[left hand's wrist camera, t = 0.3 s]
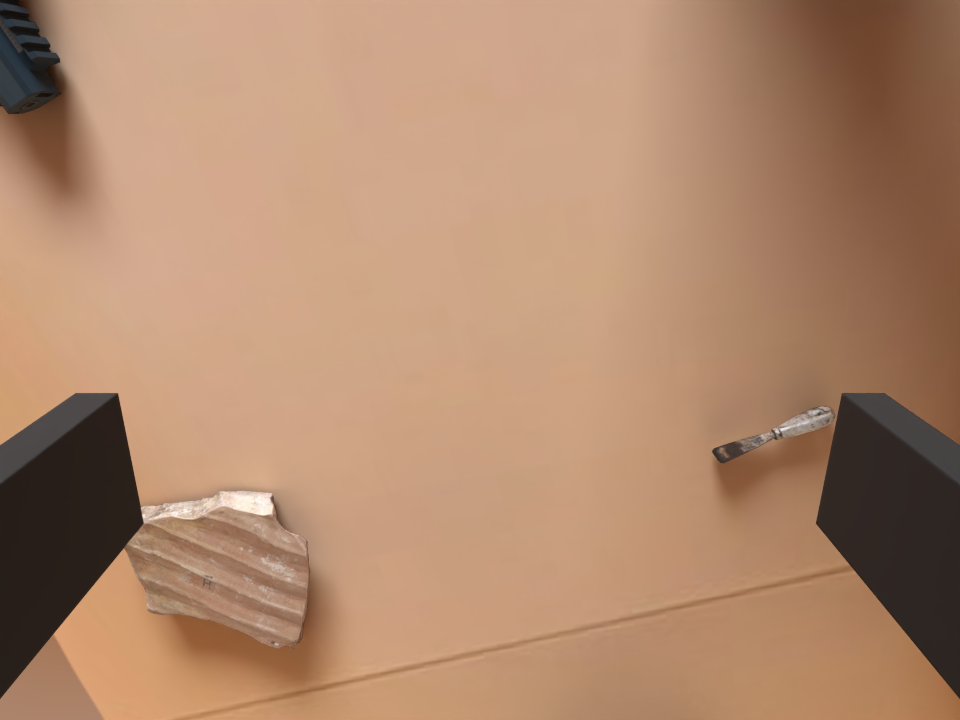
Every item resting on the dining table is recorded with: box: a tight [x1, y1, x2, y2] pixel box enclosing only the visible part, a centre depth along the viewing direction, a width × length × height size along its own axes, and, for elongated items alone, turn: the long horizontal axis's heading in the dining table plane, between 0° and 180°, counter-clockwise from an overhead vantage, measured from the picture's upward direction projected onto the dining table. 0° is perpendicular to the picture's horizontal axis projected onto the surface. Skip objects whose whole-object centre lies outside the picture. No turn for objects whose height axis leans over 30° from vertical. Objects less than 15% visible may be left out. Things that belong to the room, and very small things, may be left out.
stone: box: [124, 491, 310, 649], centre depth 47 cm, size 13×12×3 cm
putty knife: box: [712, 406, 835, 463], centre depth 44 cm, size 1×8×2 cm, turn 115°
